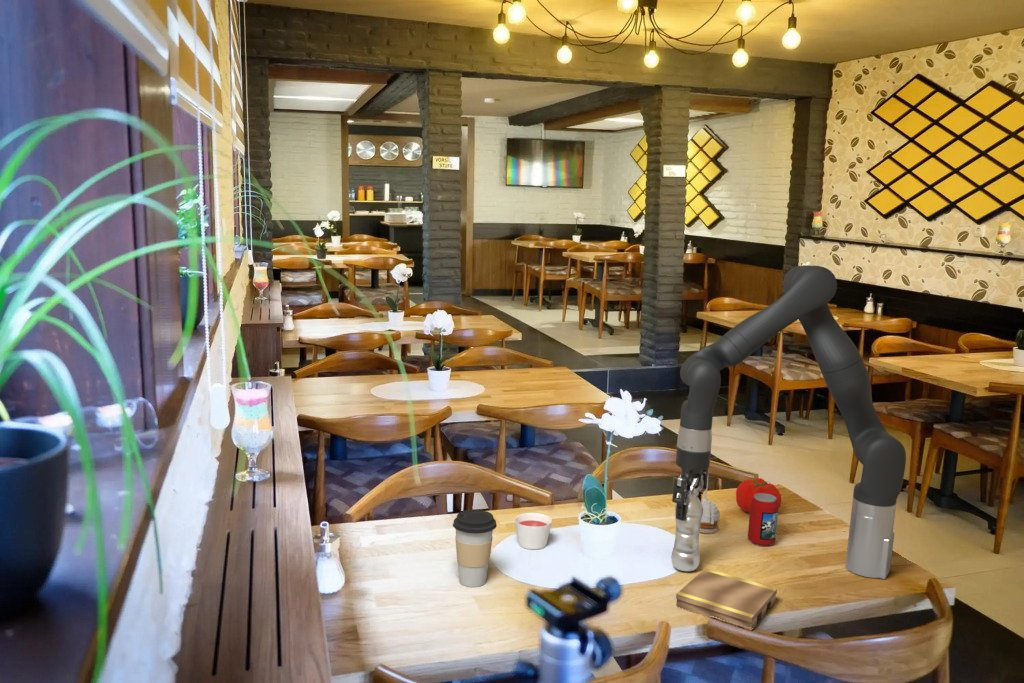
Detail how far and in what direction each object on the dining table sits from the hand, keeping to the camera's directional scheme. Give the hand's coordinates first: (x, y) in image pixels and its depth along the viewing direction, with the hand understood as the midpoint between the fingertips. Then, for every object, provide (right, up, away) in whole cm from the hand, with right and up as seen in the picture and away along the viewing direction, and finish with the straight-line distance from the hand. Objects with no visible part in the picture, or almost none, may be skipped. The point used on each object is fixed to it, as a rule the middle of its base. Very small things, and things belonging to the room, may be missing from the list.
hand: (688, 514), depth 188 cm
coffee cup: (-49, -13, -8) cm, 51 cm away
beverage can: (+22, -11, +19) cm, 32 cm away
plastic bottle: (0, -13, +2) cm, 13 cm away
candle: (-35, -10, +13) cm, 39 cm away
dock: (+5, -16, -15) cm, 22 cm away
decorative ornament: (+10, -10, +27) cm, 30 cm away
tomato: (+28, -8, +41) cm, 50 cm away
